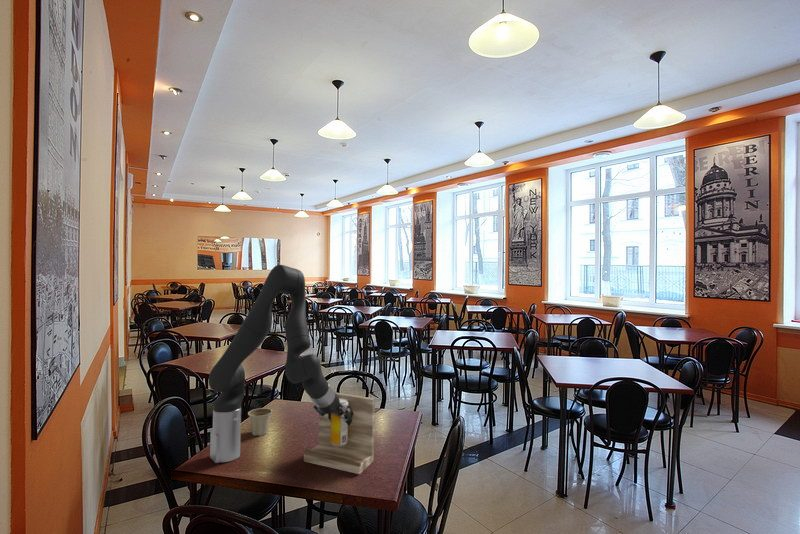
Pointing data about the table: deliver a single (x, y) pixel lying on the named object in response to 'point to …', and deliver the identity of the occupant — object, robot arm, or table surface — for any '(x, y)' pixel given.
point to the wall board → (359, 439)
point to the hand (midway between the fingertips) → (341, 421)
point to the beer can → (339, 428)
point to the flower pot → (260, 420)
